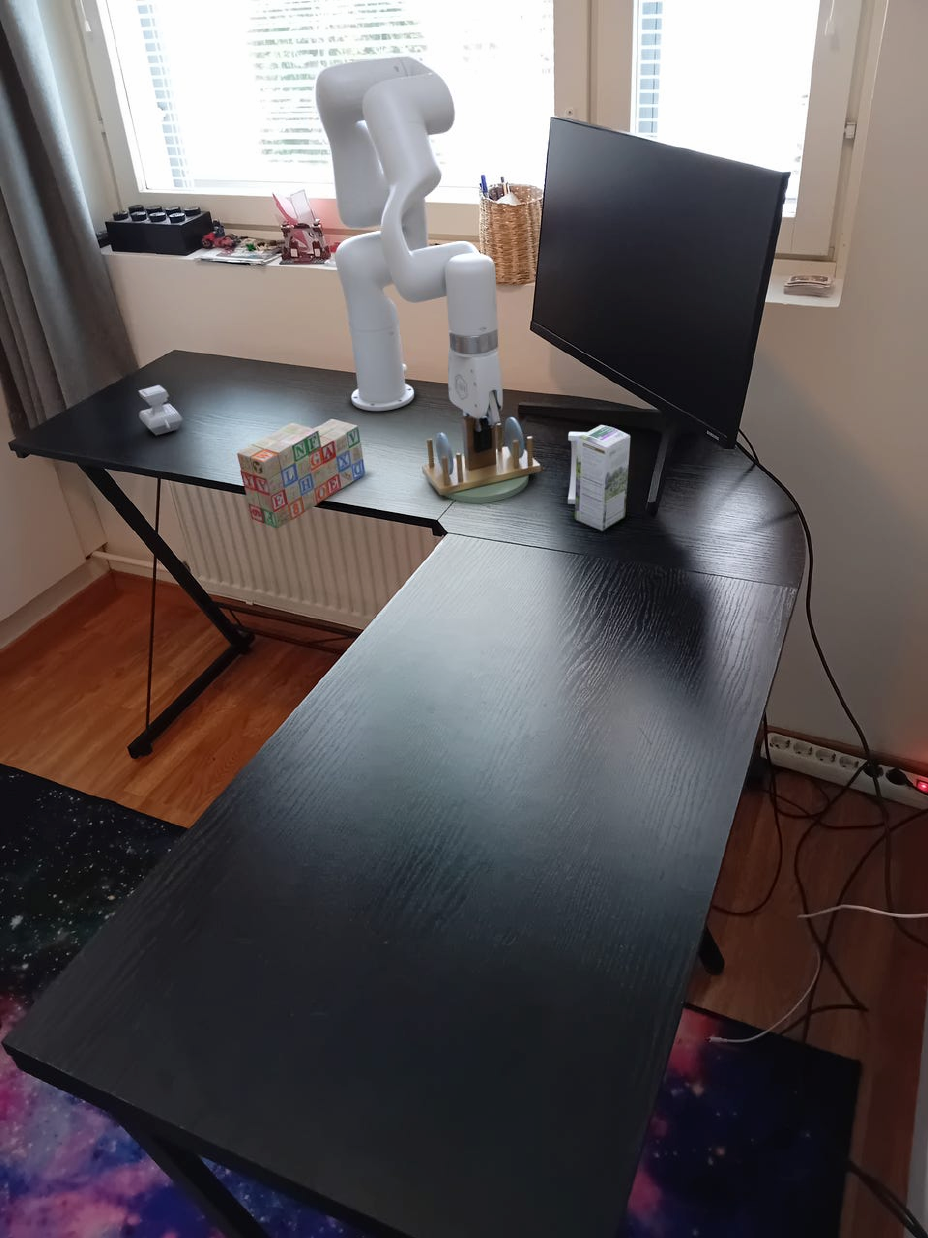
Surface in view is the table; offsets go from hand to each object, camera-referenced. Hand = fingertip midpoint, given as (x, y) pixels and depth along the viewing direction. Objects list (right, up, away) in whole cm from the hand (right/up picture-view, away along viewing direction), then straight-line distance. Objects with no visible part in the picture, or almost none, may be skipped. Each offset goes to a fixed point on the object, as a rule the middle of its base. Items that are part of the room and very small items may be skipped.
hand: (479, 446), depth 156 cm
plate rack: (0, -4, +3) cm, 5 cm away
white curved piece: (+17, -8, -3) cm, 19 cm away
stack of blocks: (-29, -8, +3) cm, 30 cm away
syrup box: (+19, -13, -9) cm, 25 cm away
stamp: (-61, +8, +28) cm, 68 cm away
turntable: (0, -5, +4) cm, 6 cm away
